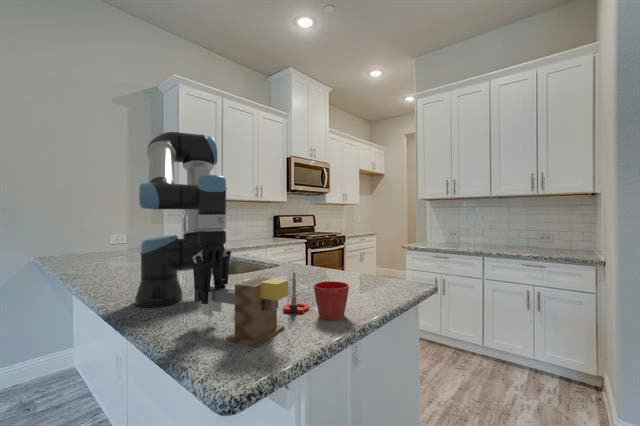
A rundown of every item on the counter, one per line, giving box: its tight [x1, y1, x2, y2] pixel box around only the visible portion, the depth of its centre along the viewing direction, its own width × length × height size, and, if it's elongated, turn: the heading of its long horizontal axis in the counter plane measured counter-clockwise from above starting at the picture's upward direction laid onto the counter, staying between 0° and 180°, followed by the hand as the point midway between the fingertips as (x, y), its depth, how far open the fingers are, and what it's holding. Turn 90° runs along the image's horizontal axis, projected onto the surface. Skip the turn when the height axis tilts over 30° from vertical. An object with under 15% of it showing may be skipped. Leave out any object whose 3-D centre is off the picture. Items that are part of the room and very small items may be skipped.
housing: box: [225, 276, 285, 348], centre depth 81 cm, size 9×13×14 cm
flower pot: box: [313, 280, 350, 321], centre depth 95 cm, size 11×11×10 cm
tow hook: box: [282, 272, 310, 315], centre depth 102 cm, size 8×13×9 cm
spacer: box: [260, 278, 289, 302], centre depth 78 cm, size 5×5×4 cm
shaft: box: [194, 285, 279, 311], centre depth 83 cm, size 26×4×4 cm, turn 65°
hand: (212, 312), depth 87 cm, fingers closed on shaft, 3 cm apart
